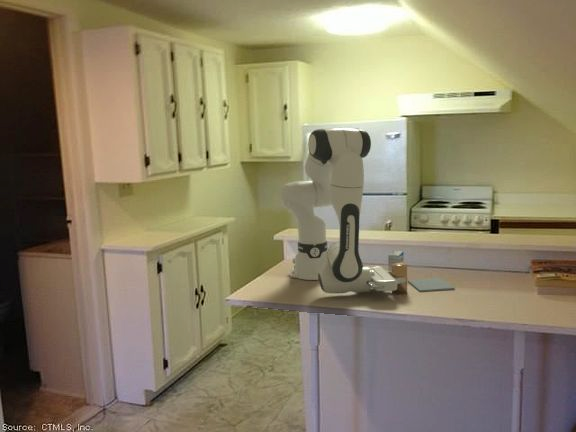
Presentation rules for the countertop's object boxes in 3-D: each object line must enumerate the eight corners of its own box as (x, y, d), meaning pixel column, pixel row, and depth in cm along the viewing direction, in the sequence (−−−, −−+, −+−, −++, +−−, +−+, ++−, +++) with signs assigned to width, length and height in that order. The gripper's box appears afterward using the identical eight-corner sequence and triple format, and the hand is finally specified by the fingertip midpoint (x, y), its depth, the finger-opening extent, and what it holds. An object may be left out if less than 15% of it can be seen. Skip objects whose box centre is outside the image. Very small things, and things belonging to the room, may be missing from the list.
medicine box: (399, 277, 206) (399, 255, 205) (388, 276, 208) (388, 254, 207) (403, 271, 213) (403, 251, 212) (393, 271, 215) (393, 250, 214)
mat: (407, 281, 200) (407, 280, 200) (440, 279, 201) (440, 277, 201) (419, 291, 187) (419, 290, 187) (454, 289, 188) (454, 287, 188)
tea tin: (389, 290, 190) (389, 263, 189) (404, 289, 191) (404, 262, 189) (394, 294, 185) (394, 267, 183) (409, 293, 185) (409, 266, 184)
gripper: (371, 278, 175) (411, 276, 176) (357, 263, 195) (393, 261, 196) (371, 296, 176) (411, 294, 177) (357, 280, 196) (393, 277, 197)
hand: (401, 276), depth 187 cm, fingers closed on tea tin, 5 cm apart
